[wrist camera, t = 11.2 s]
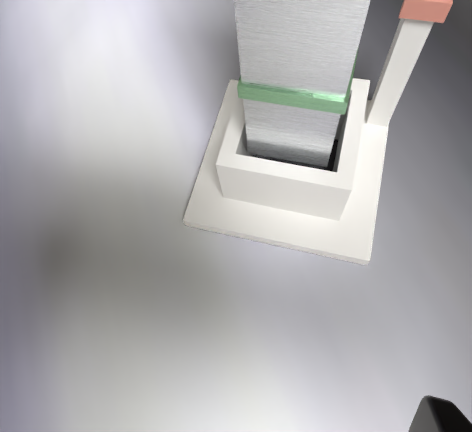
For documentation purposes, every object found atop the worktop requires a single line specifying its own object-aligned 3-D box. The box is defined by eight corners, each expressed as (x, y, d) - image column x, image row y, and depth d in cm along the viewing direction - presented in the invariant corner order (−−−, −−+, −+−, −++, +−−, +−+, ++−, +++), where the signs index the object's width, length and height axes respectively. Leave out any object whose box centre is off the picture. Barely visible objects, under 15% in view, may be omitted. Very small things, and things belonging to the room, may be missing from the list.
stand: (370, 266, 21) (445, 176, 12) (185, 225, 23) (130, 120, 14) (391, 112, 25) (460, -45, 16) (231, 87, 27) (211, -66, 18)
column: (330, 171, 19) (420, -151, 8) (243, 155, 20) (207, -161, 8) (343, 100, 21) (436, -255, 9) (263, 88, 22) (255, -255, 10)
